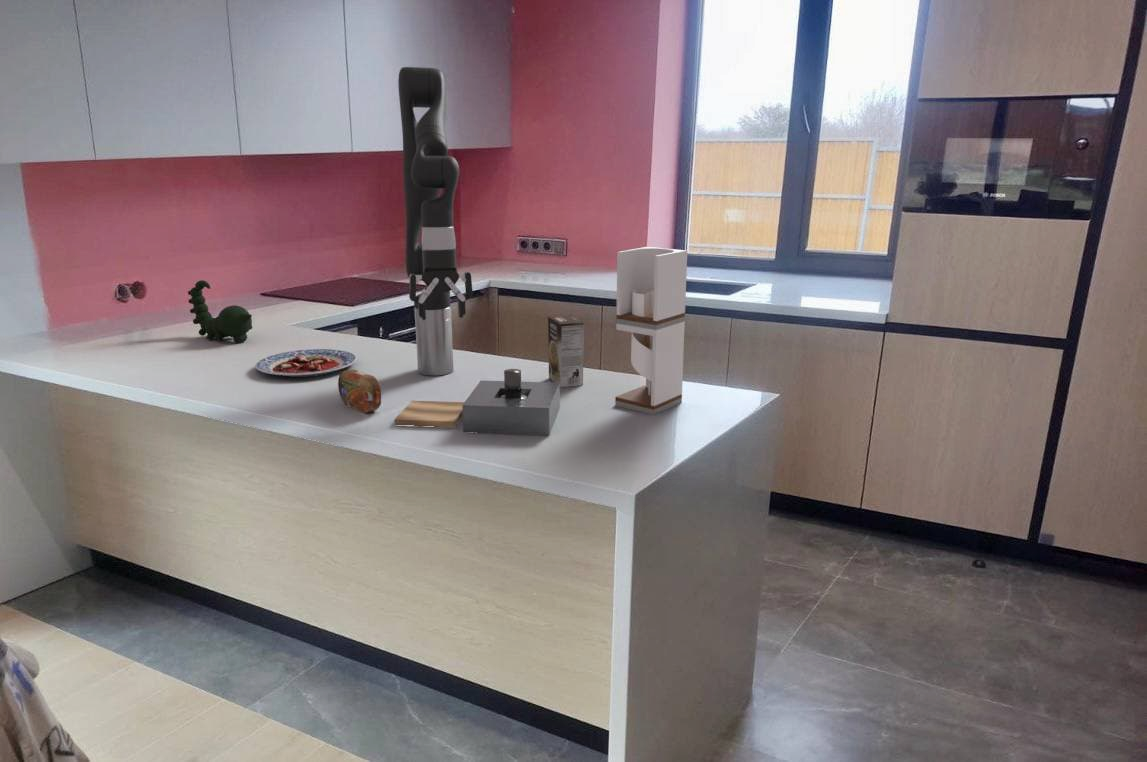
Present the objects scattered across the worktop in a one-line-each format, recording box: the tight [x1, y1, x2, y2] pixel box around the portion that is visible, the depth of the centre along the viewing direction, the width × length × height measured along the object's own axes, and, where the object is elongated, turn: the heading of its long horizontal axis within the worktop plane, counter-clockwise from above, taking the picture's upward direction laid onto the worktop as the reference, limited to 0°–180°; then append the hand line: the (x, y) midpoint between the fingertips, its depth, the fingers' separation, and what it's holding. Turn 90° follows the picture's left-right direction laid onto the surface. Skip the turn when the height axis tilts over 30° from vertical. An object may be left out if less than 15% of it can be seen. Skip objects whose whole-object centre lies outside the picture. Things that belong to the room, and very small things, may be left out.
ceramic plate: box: [255, 348, 358, 378], centre depth 216 cm, size 26×26×3 cm
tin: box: [337, 369, 382, 414], centre depth 183 cm, size 15×3×8 cm, turn 45°
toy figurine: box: [187, 279, 253, 344], centre depth 244 cm, size 9×19×25 cm
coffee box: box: [547, 314, 585, 388], centre depth 202 cm, size 9×6×16 cm
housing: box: [462, 379, 561, 436], centre depth 175 cm, size 18×18×6 cm
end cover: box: [499, 368, 527, 399], centre depth 174 cm, size 6×6×9 cm
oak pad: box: [393, 400, 465, 429], centre depth 178 cm, size 13×13×2 cm
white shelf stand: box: [614, 246, 688, 416], centre depth 182 cm, size 11×11×35 cm
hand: (442, 318), depth 187 cm, fingers open, 8 cm apart
